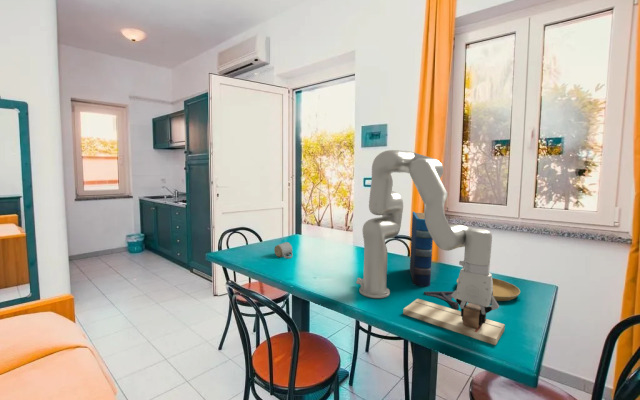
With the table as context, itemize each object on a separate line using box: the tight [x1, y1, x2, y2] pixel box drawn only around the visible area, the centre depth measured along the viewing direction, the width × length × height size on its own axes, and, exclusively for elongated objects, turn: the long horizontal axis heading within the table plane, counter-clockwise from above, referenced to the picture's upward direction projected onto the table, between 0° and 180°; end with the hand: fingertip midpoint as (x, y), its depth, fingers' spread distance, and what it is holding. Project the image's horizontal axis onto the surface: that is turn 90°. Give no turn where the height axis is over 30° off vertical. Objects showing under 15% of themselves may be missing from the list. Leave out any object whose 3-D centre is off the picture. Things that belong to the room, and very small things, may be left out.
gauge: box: [463, 302, 481, 329], centre depth 106 cm, size 4×9×6 cm, turn 139°
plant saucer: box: [456, 277, 521, 302], centre depth 138 cm, size 24×24×3 cm
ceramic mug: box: [273, 241, 293, 260], centre depth 186 cm, size 11×8×8 cm
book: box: [409, 211, 434, 287], centre depth 152 cm, size 24×9×30 cm, turn 168°
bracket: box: [423, 291, 460, 310], centre depth 128 cm, size 14×15×3 cm
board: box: [402, 298, 506, 346], centre depth 111 cm, size 30×12×2 cm, turn 49°
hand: (472, 321), depth 105 cm, fingers closed on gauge, 4 cm apart
